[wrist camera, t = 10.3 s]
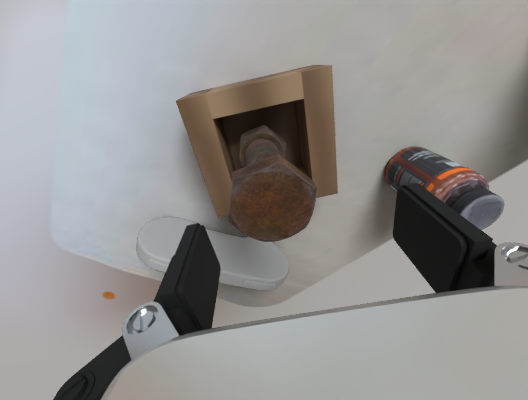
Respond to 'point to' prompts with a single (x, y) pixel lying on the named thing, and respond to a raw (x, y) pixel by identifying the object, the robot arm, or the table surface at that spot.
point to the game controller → (227, 251)
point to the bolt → (269, 189)
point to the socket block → (273, 116)
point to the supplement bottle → (446, 184)
